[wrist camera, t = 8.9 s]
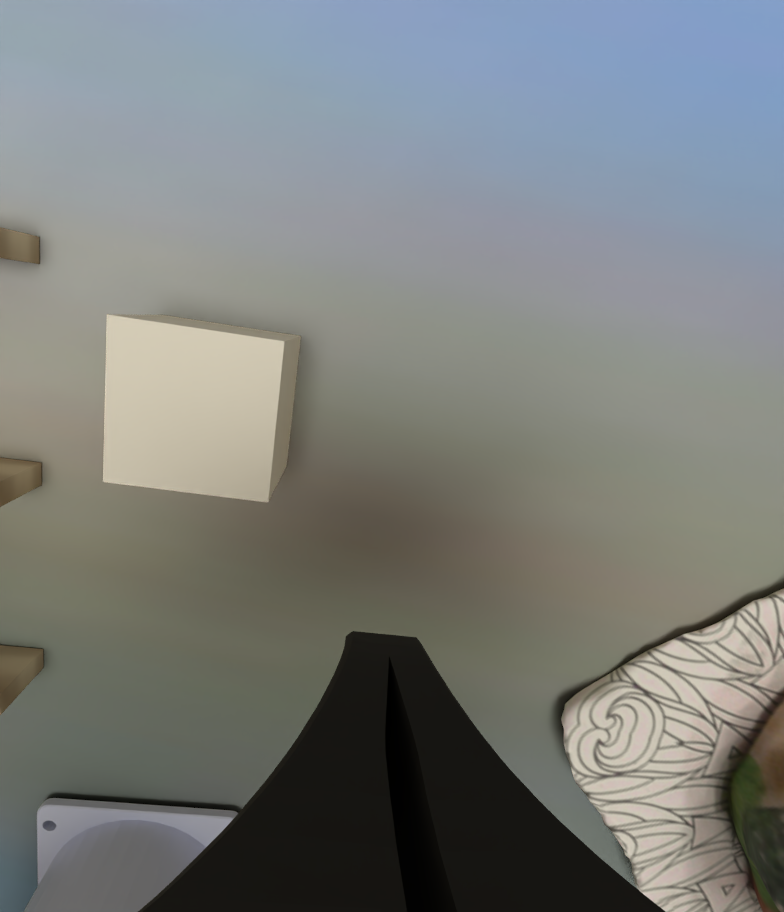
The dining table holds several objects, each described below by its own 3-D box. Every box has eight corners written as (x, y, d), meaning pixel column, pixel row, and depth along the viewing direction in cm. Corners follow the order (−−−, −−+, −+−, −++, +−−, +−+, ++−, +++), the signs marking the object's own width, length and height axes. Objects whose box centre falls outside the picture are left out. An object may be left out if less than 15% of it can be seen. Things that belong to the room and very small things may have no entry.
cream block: (287, 464, 19) (268, 502, 15) (156, 447, 19) (102, 481, 15) (301, 335, 18) (284, 341, 14) (162, 314, 18) (106, 314, 14)
